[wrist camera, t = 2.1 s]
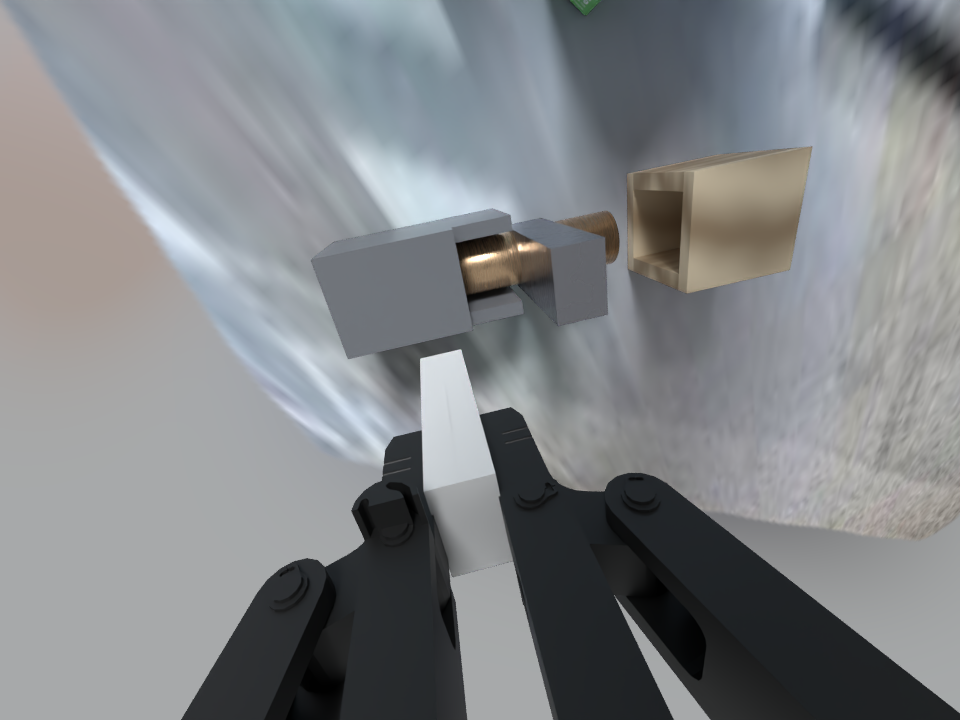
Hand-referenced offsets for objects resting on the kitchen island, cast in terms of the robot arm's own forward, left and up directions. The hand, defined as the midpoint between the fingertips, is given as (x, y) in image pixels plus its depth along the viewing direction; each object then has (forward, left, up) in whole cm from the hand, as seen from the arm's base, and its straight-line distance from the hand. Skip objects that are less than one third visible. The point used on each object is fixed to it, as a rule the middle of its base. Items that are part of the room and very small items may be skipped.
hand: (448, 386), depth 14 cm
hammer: (0, +5, -19) cm, 20 cm away
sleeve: (0, 0, -21) cm, 21 cm away
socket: (0, +22, -21) cm, 30 cm away
